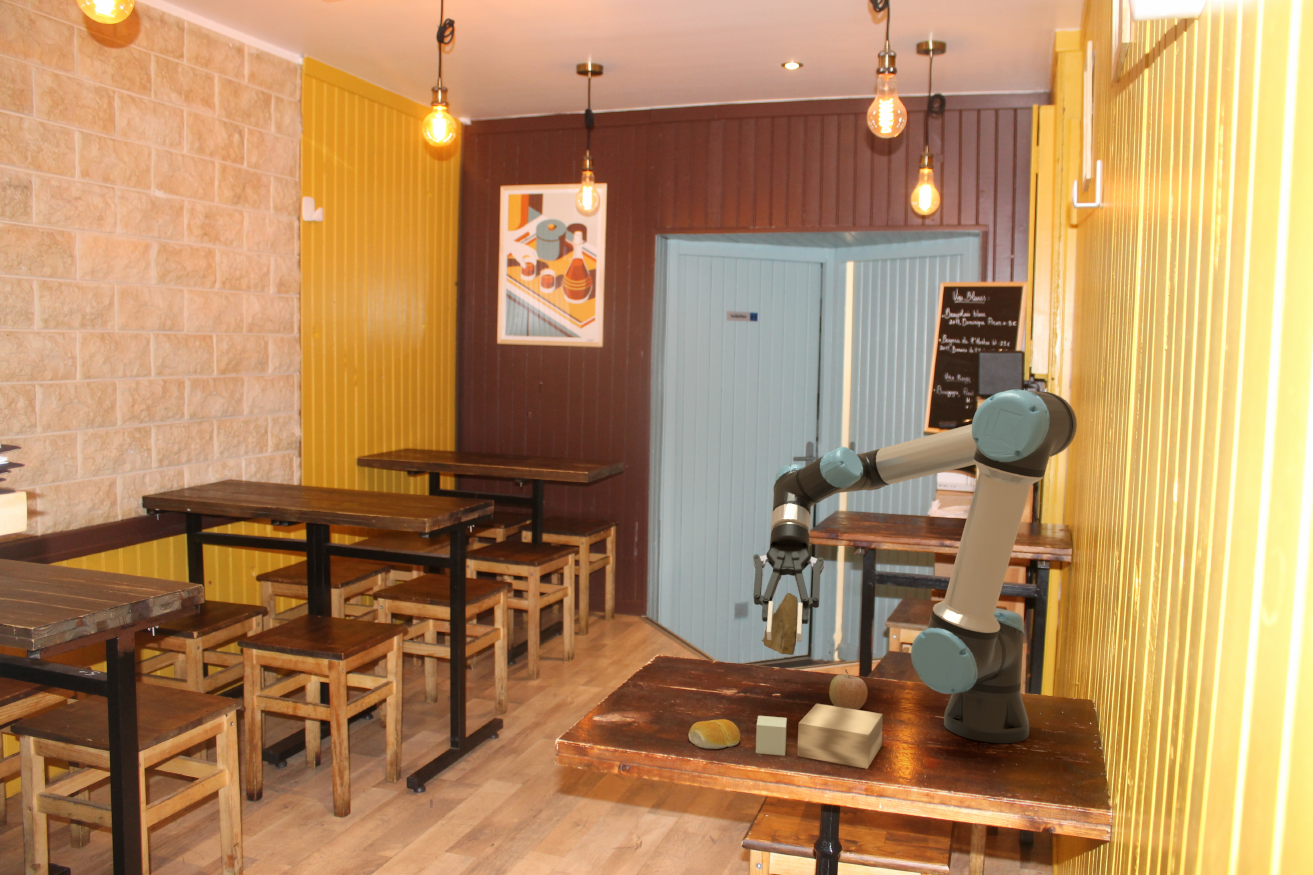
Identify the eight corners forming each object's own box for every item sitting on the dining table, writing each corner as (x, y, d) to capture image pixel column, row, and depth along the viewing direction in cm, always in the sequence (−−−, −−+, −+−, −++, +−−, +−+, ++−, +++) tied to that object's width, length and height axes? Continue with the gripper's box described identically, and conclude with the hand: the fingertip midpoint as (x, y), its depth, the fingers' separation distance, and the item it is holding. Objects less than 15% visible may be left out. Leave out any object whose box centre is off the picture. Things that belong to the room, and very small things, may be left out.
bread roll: (748, 744, 171) (749, 722, 171) (708, 753, 166) (708, 730, 166) (720, 730, 178) (721, 708, 178) (680, 738, 173) (681, 716, 173)
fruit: (821, 710, 191) (823, 670, 190) (836, 701, 197) (838, 662, 196) (858, 718, 186) (860, 677, 186) (872, 708, 193) (874, 669, 192)
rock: (808, 645, 170) (820, 626, 179) (778, 606, 171) (791, 589, 180) (761, 675, 174) (775, 655, 184) (732, 636, 175) (748, 618, 184)
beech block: (881, 746, 172) (882, 713, 172) (867, 770, 161) (868, 734, 161) (815, 735, 177) (816, 703, 177) (797, 757, 166) (798, 722, 166)
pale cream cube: (785, 745, 171) (786, 717, 171) (784, 755, 166) (785, 727, 166) (757, 743, 172) (758, 715, 172) (755, 753, 167) (756, 724, 167)
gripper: (836, 546, 190) (833, 650, 174) (746, 543, 193) (736, 644, 178) (836, 522, 185) (834, 627, 169) (743, 519, 188) (733, 622, 172)
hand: (783, 636), depth 173 cm, fingers closed on rock, 5 cm apart
